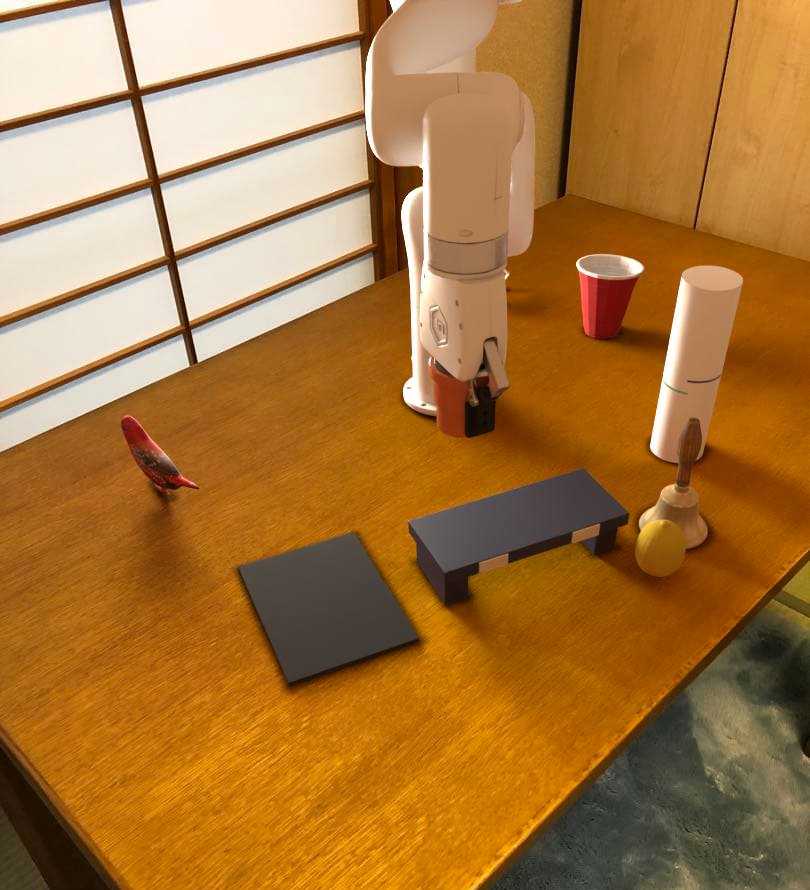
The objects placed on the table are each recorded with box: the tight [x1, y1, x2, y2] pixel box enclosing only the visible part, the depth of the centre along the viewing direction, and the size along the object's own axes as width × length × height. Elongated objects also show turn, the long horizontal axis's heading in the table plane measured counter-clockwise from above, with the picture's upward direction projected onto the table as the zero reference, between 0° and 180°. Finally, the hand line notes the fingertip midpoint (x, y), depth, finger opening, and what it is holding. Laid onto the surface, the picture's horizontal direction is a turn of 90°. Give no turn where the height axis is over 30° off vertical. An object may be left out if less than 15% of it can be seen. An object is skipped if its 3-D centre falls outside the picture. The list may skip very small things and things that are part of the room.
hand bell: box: [638, 418, 709, 550], centre depth 104 cm, size 8×8×16 cm
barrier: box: [407, 467, 630, 605], centre depth 104 cm, size 10×24×6 cm, turn 114°
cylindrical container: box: [649, 265, 744, 464], centre depth 114 cm, size 7×7×25 cm
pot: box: [429, 356, 488, 439], centre depth 89 cm, size 7×7×7 cm
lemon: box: [634, 520, 687, 578], centre depth 101 cm, size 6×6×8 cm
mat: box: [237, 531, 420, 687], centre depth 101 cm, size 20×15×1 cm
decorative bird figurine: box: [120, 415, 200, 498], centre depth 114 cm, size 3×18×10 cm, turn 45°
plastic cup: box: [575, 253, 645, 340], centre depth 145 cm, size 11×11×12 cm
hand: (463, 415), depth 91 cm, fingers closed on pot, 6 cm apart
